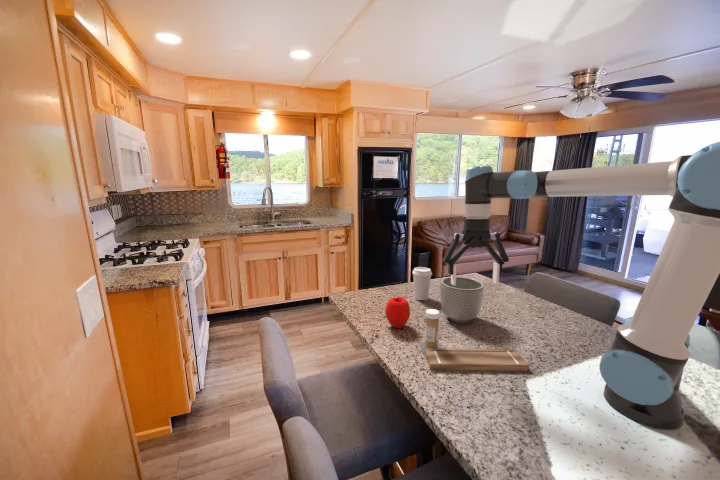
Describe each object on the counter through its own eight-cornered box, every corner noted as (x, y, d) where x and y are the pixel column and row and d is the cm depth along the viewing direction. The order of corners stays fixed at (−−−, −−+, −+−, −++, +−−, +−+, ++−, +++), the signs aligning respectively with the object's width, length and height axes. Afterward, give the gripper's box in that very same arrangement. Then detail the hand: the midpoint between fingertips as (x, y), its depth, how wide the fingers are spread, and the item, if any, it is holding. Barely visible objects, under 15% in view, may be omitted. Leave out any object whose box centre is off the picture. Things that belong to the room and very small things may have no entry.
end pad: (443, 353, 103) (443, 353, 103) (423, 353, 103) (423, 352, 103) (438, 343, 110) (438, 342, 110) (419, 342, 110) (419, 342, 110)
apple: (391, 318, 130) (392, 291, 127) (413, 324, 125) (414, 295, 122) (380, 328, 121) (381, 298, 119) (403, 334, 116) (404, 304, 114)
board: (528, 370, 94) (528, 364, 94) (430, 369, 94) (430, 363, 94) (514, 354, 103) (514, 348, 103) (424, 353, 103) (424, 348, 103)
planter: (430, 318, 130) (432, 282, 127) (452, 307, 142) (454, 274, 139) (467, 332, 118) (470, 293, 115) (489, 319, 129) (492, 283, 126)
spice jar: (440, 348, 106) (442, 312, 103) (431, 352, 104) (433, 315, 101) (430, 342, 110) (432, 307, 107) (421, 346, 107) (423, 310, 105)
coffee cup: (433, 297, 154) (435, 268, 151) (427, 303, 146) (428, 273, 143) (415, 293, 159) (416, 265, 156) (408, 299, 151) (409, 270, 148)
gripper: (511, 215, 99) (507, 279, 102) (433, 217, 99) (432, 281, 102) (523, 217, 91) (519, 286, 95) (440, 219, 91) (438, 288, 95)
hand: (474, 283), depth 98 cm, fingers open, 13 cm apart
